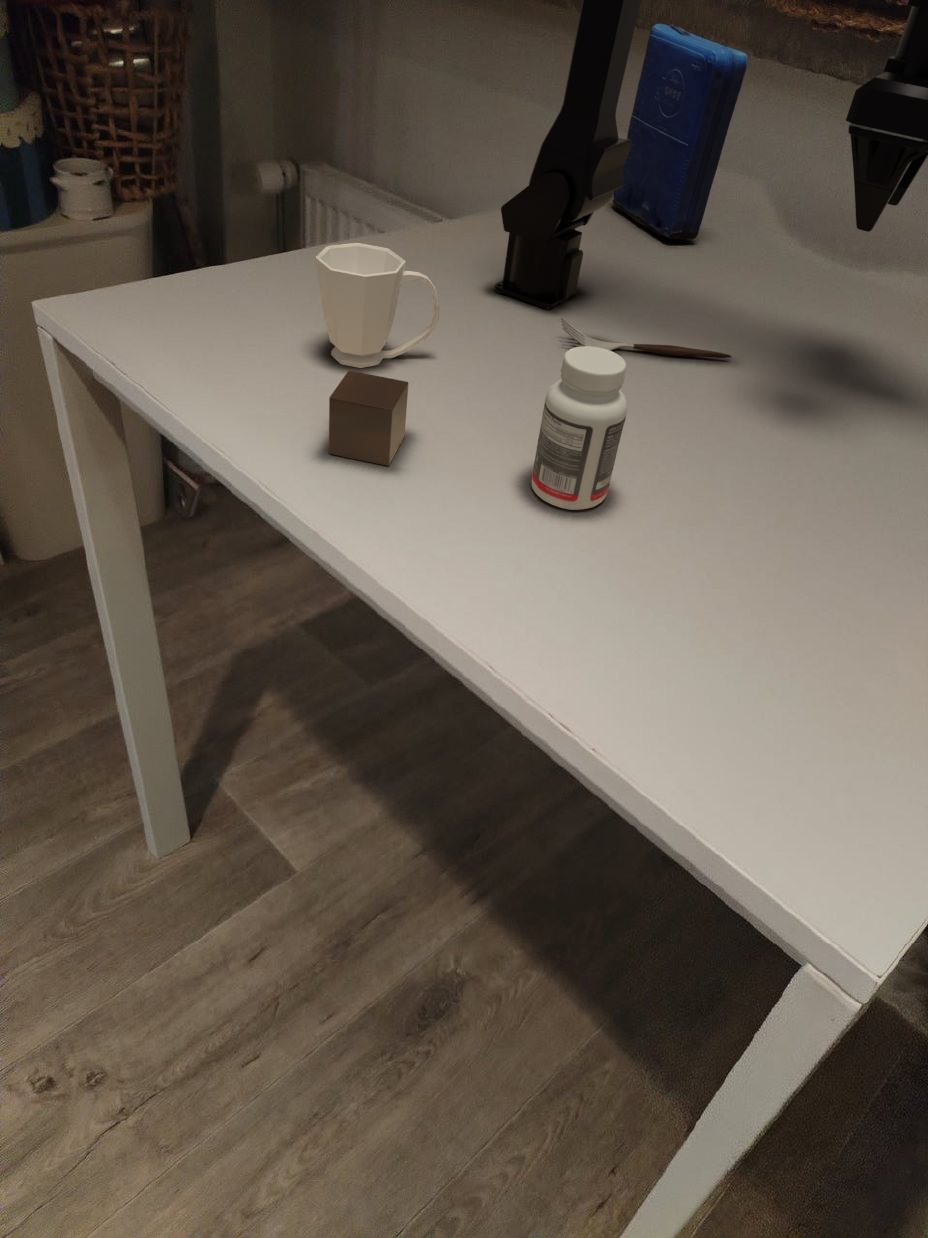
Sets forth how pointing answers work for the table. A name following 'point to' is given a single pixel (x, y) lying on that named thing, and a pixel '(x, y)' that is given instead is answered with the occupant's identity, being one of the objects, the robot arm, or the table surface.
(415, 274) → the cup
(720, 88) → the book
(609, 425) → the pill bottle
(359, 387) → the walnut block
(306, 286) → the table surface
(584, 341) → the fork
